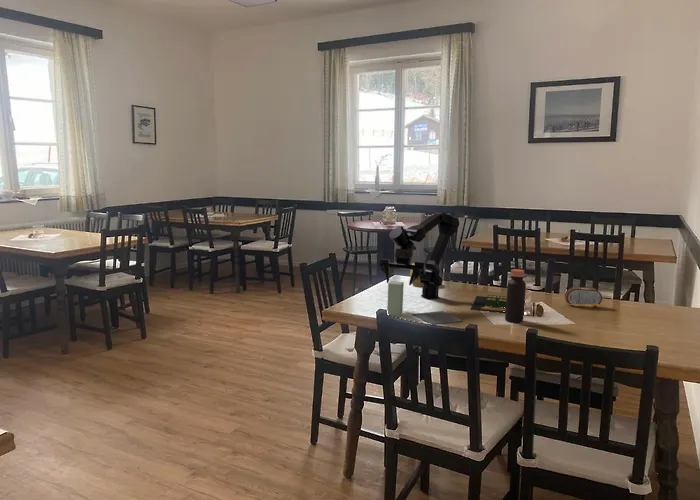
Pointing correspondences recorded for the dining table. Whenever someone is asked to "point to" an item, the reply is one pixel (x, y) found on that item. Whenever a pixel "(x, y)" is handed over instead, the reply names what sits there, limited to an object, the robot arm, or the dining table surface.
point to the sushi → (489, 303)
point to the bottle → (515, 297)
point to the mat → (437, 317)
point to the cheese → (417, 281)
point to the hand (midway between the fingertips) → (398, 283)
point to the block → (395, 298)
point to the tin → (583, 296)
